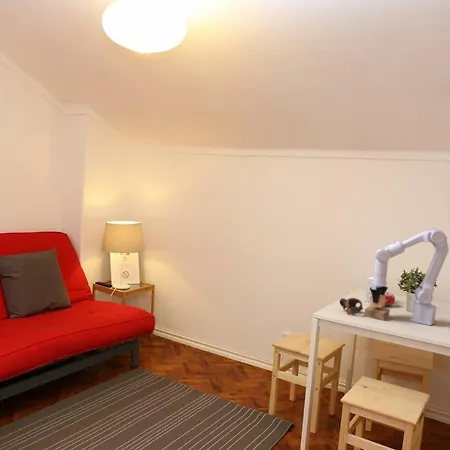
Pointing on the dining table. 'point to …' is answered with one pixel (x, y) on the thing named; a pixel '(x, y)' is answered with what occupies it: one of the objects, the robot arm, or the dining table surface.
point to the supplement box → (368, 288)
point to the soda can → (388, 298)
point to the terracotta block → (380, 302)
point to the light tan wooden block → (377, 313)
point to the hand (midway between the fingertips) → (377, 302)
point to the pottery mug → (351, 305)
